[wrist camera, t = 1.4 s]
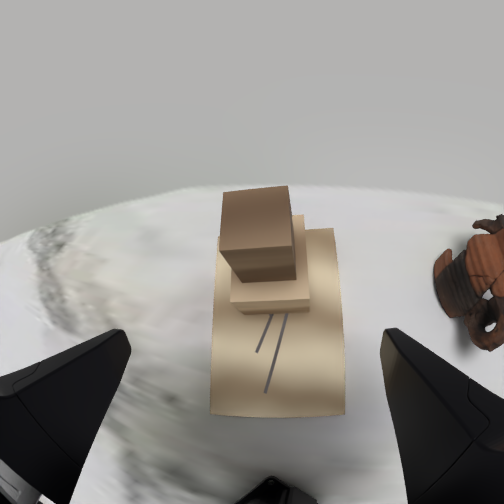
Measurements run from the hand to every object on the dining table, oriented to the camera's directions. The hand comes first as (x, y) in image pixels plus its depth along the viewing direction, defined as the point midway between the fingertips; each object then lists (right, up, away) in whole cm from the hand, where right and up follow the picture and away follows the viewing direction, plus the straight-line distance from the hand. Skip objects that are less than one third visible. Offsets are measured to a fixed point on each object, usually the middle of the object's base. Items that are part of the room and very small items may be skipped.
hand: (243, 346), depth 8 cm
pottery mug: (+21, -1, +11) cm, 23 cm away
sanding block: (+2, +1, +13) cm, 14 cm away
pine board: (+2, -3, +13) cm, 14 cm away
